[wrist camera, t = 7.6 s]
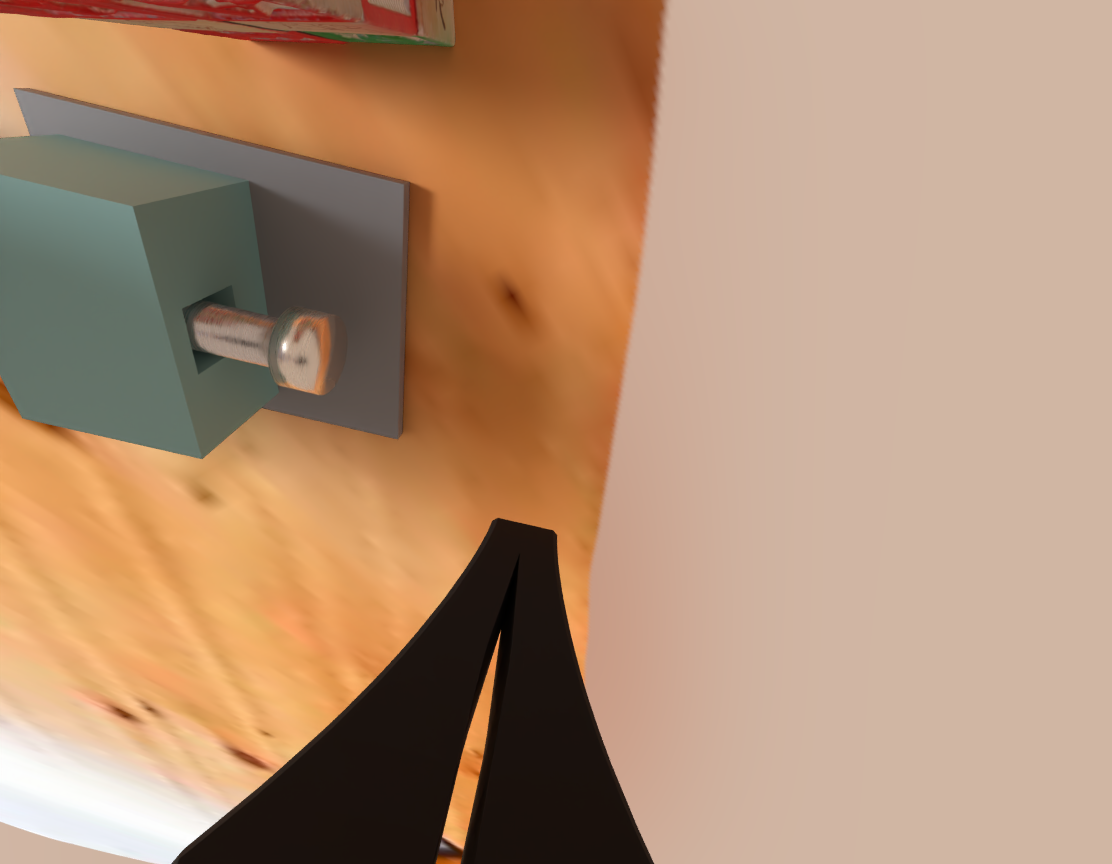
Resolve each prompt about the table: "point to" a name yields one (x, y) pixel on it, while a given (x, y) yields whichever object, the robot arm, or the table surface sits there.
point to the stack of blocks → (269, 18)
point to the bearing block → (186, 275)
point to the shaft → (274, 342)
